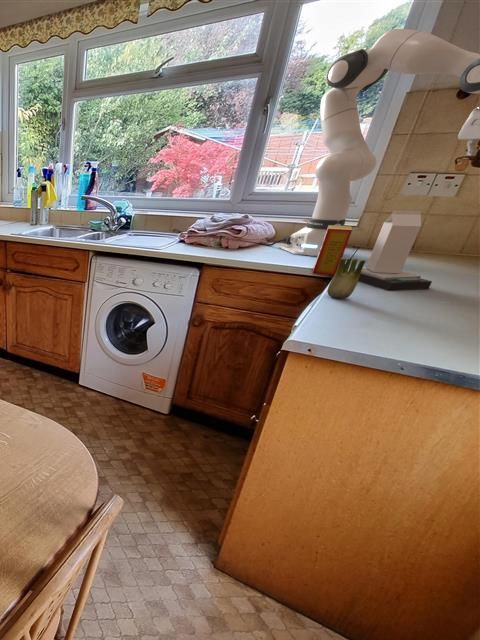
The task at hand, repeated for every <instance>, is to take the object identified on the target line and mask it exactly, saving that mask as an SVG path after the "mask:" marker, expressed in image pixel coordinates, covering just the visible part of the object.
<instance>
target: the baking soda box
mask: <svg viewBox="0 0 480 640" xmlns="http://www.w3.org/2000/svg"><path fill="white" fill-rule="evenodd" d="M352 232H353V228H352V226H351V225H344V226H336V225H328V228H327V231H326V234H325V237H324V239H323V242H322V245H321V248H320V251H319V254H318V256H316V260H315V263H314V266H313V268H312V274H314V275H322V276H323V275H324V276H333V277H334V275H335V274H336V272H337V269H338V266H339V262H340V259H341V258H343V256H344V253H345V250H346V248H347V245H348V242H349V240H350V238H351V234H352Z"/></svg>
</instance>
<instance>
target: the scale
mask: <svg viewBox="0 0 480 640" xmlns="http://www.w3.org/2000/svg"><path fill="white" fill-rule="evenodd" d="M355 270H356V268H355ZM355 270H354V272H355ZM358 282H360V283H363V284H366V285H370V286H373V287H375V288H379V289H382V290H385V291H411V290H412V291H413V290H429V289H430V287H431V285H432V282H433V281H432V280H428V279H425V278H422V277H421V275H418V274H414V273H410V272H407V271H403V270H401V273H380V272H372V271H371V270H369V269H368V268H366V267H363V268H362V270H361V273H360V276H359V279H358Z"/></svg>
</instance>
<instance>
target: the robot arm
mask: <svg viewBox="0 0 480 640" xmlns="http://www.w3.org/2000/svg"><path fill="white" fill-rule="evenodd" d="M389 71H391V72H395V73H397V74H404V75H440V74H441V75H451V76H455V77H458V78H459V88H460V90H461V91H463V92H465V93H469V94H479V95H480V53H478V52H474V51H470V50H466V49H463V48H461V47H459V46H457V45H455V44H453V43H451V42H450V41H449V42H448V41H447V40H444V39H443V38H441V37H439V36H437V35H434V34H432V33H430V32H427V31H422V30H418V29H409V28H394V29H390V30H388V31H386V32H384V33H383V34H382V35H381V36H380V37H379V38H378V39H377V40H376V41H375V43H374V44H373V45H372V47H371V48H369V49H367V50H365V49H364V48H361V49H357V50H355V51H351V52H349V53H347V54H344V55H342V56H340V57H338V58H337V59H335V60H334V61H333V62H332V63H331V65H330V66H329V67H328V70H327V72H326V76H325V81H326V83H327V85H328V86H329V87H330V89H329V90H328V91H327V92H325V93H324V94H323V95H322V97H321V99H320V108H319V118H320V127H321V134H322V141H323V145H324V146H325V147H326V148H327V149H328V151H329V152H330V154H328V155H326V156H324V157H322V158H321V159H320V160H319V161H318V163H317V164H316V167H315V171H314V172H315V173H314V174H315V177H316V178H317V181H318V192H317V199H316V203H315V206H314V210H313V212H312V216H311V217H310V218H306V219H305V220H306V221H305V223H306V224H305V226H303V228H301V229H299V230H298V231H296V232H294V233H292V234H291V235H283V238H282V239H279V240H276V241H273V242H271V243H266V242H263V241H259V242H260V243H258V244H259V245H263V246H265V247H272V246H274V245H276V244H278V243H283V244H282V245H280V246H279V249H282V250H283V251H286V252H289V253H292V254H294V255H299V256H300V255H302V256H311V257H318V254H319V251H320V248H321V245H322V242H323V239H324V237H325V234H326V231H327V228H328V225H336V226H346V225H345V224H346V218H347V214H348V212H349V209H350V206H351V204H352V200H353V199H352V195H351V182H355V181H358V180H361V179H363V178H366V177H367V176H369V175H371V174H372V172H373V171H374V170H375V168H376V166H377V157H376V156H375V154H373V152H371V150H370V149H369V146H368V144H367V141H366V139H365V137H364V135H363V132H362V129H361V122H360V115H359V109H358V103H357V98H358V94H359V93H365V92H367V91H368V90H369V89H370V88H371V87H372V86H374V85H376V84H377V83H378V82H380V81H381V80H382V79H384V77H385V76H386V75H387V74H388V72H389ZM457 139H458V141H465V140H467V143H466V147H467V151H466V154H465V156H466V157H475V156H476V155H477V153H478V152H479V149H477V144H479V142H480V105H479V106H478V107H476V108H474V109H473V110H472V111H471V112H470V114H469V115H468V116H467V118H466V120H465V122H464V123H463V125H462V127H461V128H460V130H459V132H458V135H457ZM175 231H177V232H179V233H181V234H183V233H182V232H183V231H184V230H180V229H179V228H176V227H175V228H174V229H172V232H175Z"/></svg>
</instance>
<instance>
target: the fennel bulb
mask: <svg viewBox="0 0 480 640" xmlns="http://www.w3.org/2000/svg"><path fill="white" fill-rule="evenodd" d="M358 260H359V259H358V258H352V257H347V258H345V257H344V258H343V257H342V258H341V259H340V262H339V266H338V269H337V272H336V274H335V275H334V276H333V277H332V279H331V280H330V281H329V285H328V288H327V295H328V296H329V297H330V298H334V299H342V300H343V299H344V300H345V299H348V298H350V296H351V295H352V294H353V293H354V291H355V289H356V288H357V285H358V282H359V281H358V279H359V276H360V273H361V270H362V269H364V266H365V264H366V262H367V261H366V260H365V259H360V260H359V263H358ZM355 269H356V270H355ZM354 270H355V272H354Z"/></svg>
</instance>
